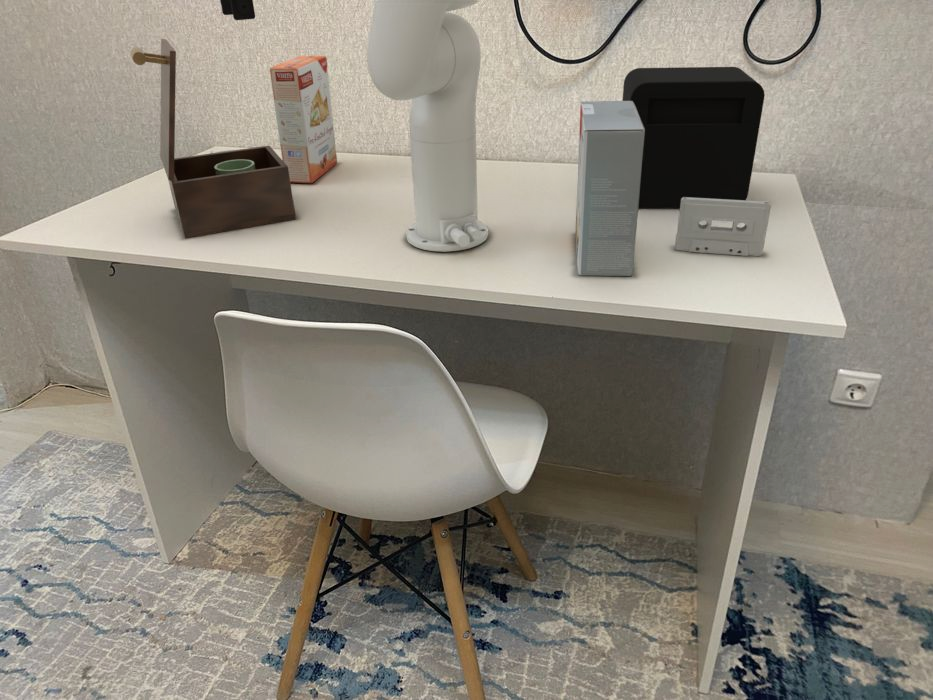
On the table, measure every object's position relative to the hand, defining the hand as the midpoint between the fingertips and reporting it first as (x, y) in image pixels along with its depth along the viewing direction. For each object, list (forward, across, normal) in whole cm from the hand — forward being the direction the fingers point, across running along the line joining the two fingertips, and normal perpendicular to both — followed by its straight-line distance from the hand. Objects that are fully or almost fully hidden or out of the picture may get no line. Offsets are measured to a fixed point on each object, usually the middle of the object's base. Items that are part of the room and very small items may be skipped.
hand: (238, 16), depth 116 cm
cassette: (+31, -56, -52) cm, 82 cm away
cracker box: (+30, +13, -11) cm, 35 cm away
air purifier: (+31, -33, -63) cm, 78 cm away
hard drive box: (+31, -49, -37) cm, 69 cm away
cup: (+29, -4, +6) cm, 30 cm away
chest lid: (+12, -4, +13) cm, 18 cm away
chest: (+30, -4, +7) cm, 31 cm away
